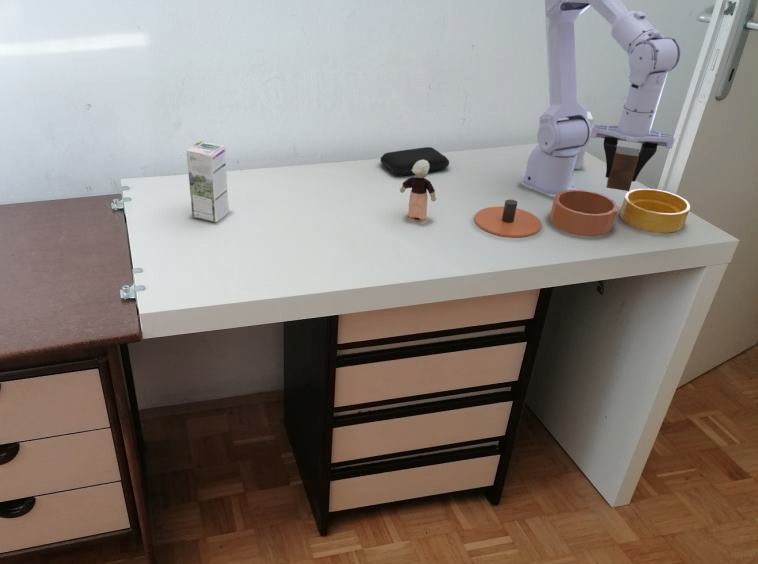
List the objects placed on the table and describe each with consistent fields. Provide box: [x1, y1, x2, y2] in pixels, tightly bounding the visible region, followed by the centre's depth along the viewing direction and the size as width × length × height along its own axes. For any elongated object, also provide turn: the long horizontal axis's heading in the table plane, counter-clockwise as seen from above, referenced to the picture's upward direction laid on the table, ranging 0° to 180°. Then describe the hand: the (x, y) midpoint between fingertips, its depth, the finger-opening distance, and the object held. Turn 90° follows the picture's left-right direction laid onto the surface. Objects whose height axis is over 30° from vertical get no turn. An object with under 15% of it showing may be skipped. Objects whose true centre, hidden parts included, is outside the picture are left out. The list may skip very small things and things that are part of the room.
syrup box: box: [186, 141, 230, 223], centre depth 145 cm, size 6×6×14 cm
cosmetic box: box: [574, 110, 594, 170], centre depth 170 cm, size 6×4×12 cm
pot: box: [549, 189, 619, 237], centre depth 146 cm, size 12×12×5 cm
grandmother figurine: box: [399, 160, 437, 222], centre depth 145 cm, size 8×4×13 cm, turn 71°
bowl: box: [619, 188, 691, 234], centre depth 148 cm, size 12×12×4 cm
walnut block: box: [605, 145, 641, 192], centre depth 142 cm, size 4×4×7 cm
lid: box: [474, 198, 542, 238], centre depth 146 cm, size 13×13×5 cm
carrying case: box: [379, 146, 450, 177], centre depth 171 cm, size 11×3×15 cm
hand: (620, 177), depth 143 cm, fingers closed on walnut block, 4 cm apart
